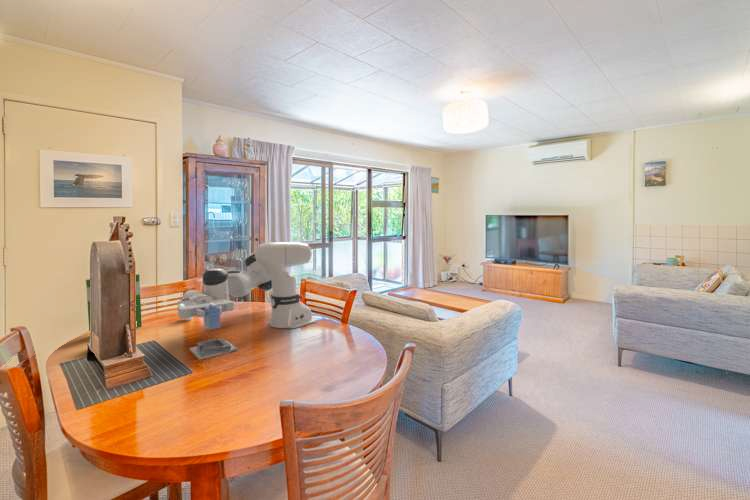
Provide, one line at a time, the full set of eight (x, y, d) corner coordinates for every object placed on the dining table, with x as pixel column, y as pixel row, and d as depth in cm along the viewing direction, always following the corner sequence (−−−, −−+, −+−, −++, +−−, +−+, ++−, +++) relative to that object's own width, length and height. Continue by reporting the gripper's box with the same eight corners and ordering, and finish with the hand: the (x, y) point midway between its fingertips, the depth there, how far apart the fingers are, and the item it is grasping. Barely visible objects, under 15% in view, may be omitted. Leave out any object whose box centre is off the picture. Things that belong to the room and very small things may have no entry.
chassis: (226, 342, 151) (226, 336, 151) (237, 350, 142) (237, 344, 142) (189, 350, 142) (189, 343, 141) (198, 359, 133) (198, 353, 132)
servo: (213, 323, 145) (213, 300, 144) (221, 328, 139) (220, 304, 138) (203, 324, 143) (202, 301, 142) (210, 330, 136) (209, 306, 135)
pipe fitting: (188, 322, 177) (188, 305, 176) (177, 320, 179) (177, 304, 179) (199, 318, 183) (198, 302, 182) (188, 316, 185) (187, 301, 184)
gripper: (227, 309, 157) (240, 316, 147) (173, 317, 144) (183, 325, 133) (227, 294, 156) (239, 300, 146) (173, 301, 143) (183, 308, 133)
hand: (212, 312), depth 140 cm, fingers closed on servo, 4 cm apart
